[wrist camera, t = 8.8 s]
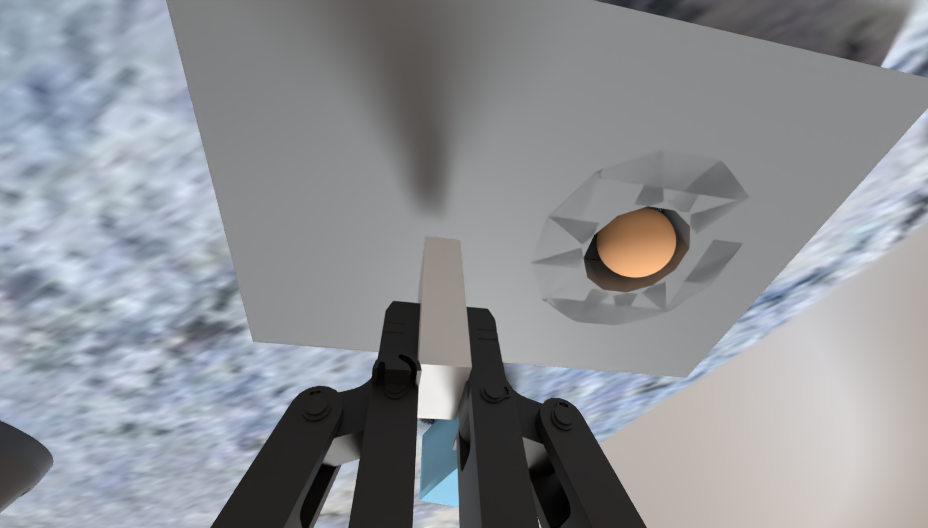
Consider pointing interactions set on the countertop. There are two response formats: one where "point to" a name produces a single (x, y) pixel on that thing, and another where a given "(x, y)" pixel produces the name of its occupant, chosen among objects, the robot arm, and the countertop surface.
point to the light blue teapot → (440, 464)
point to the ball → (637, 243)
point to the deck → (520, 164)
